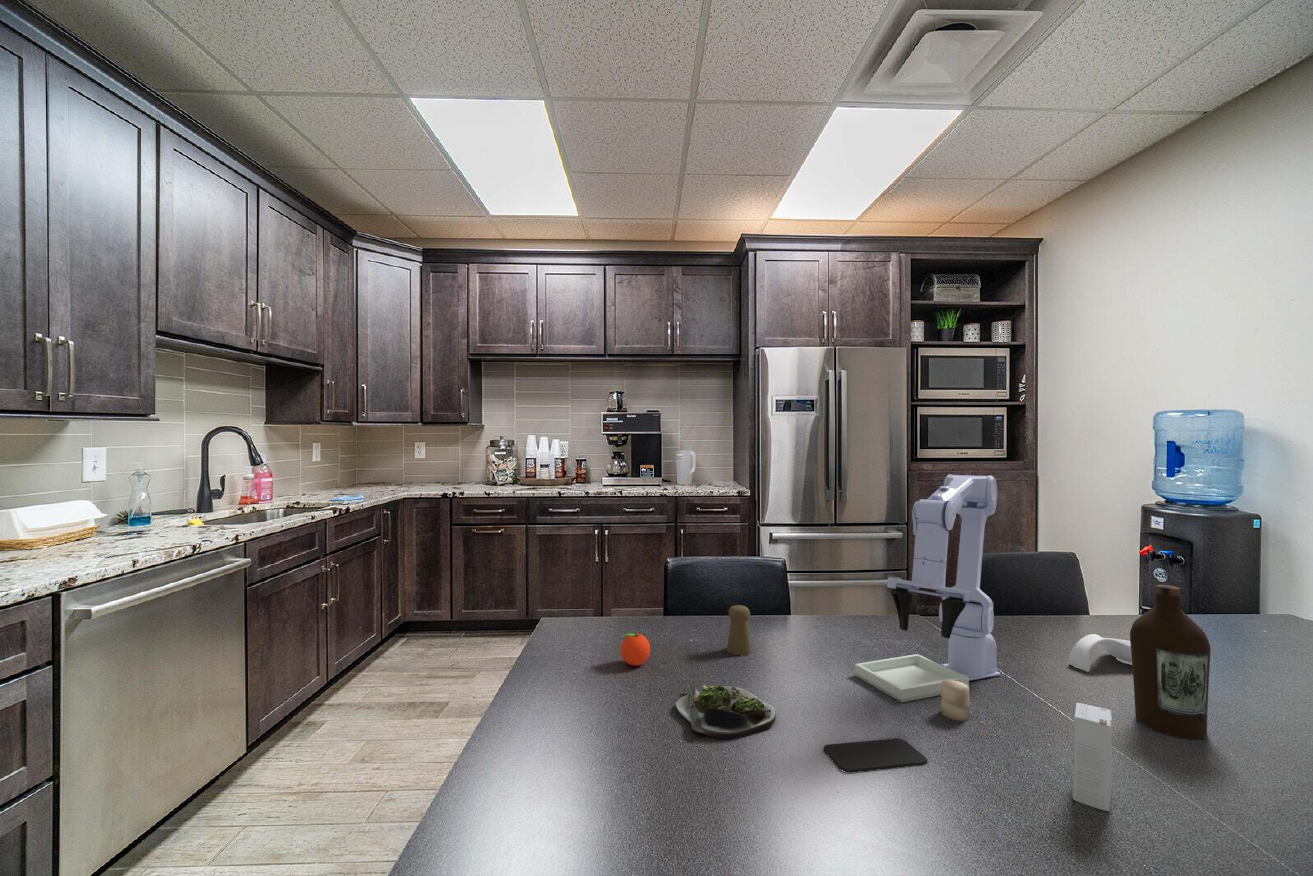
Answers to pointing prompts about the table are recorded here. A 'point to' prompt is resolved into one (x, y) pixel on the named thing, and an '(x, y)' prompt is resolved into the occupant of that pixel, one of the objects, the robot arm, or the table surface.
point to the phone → (874, 755)
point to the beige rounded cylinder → (955, 700)
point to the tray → (907, 676)
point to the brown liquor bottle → (1170, 668)
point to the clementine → (635, 649)
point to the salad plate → (725, 711)
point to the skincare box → (1092, 756)
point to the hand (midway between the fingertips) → (924, 633)
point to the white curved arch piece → (1087, 643)
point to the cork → (739, 631)
